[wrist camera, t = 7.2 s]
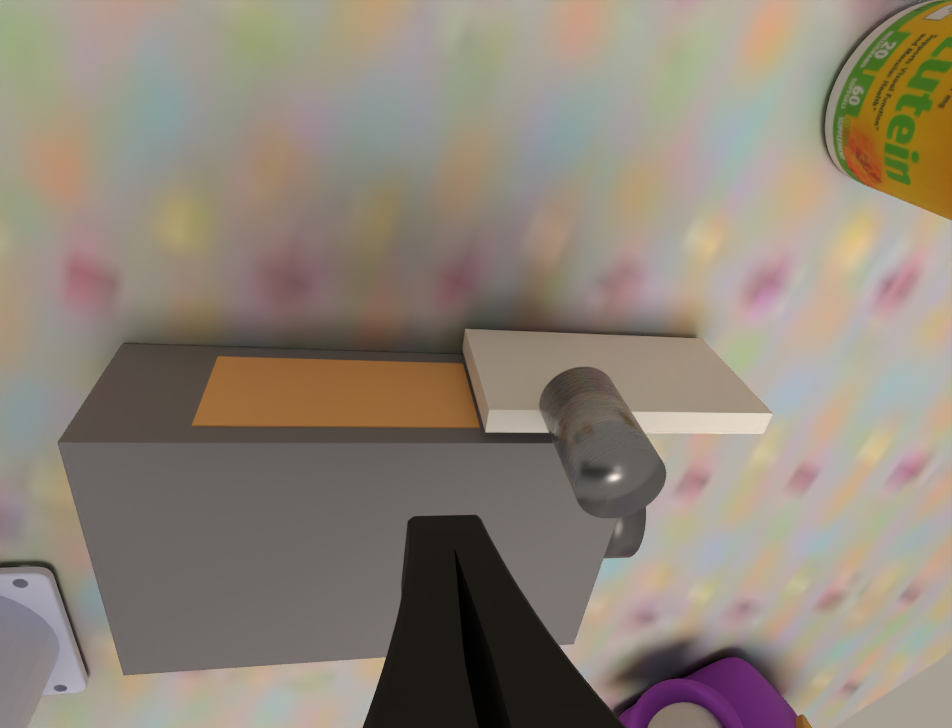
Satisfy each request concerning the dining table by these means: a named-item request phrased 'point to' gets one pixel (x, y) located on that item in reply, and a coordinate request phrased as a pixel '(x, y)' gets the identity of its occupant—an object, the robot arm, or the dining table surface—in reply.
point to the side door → (607, 403)
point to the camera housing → (305, 501)
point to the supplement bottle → (898, 109)
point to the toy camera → (714, 701)
